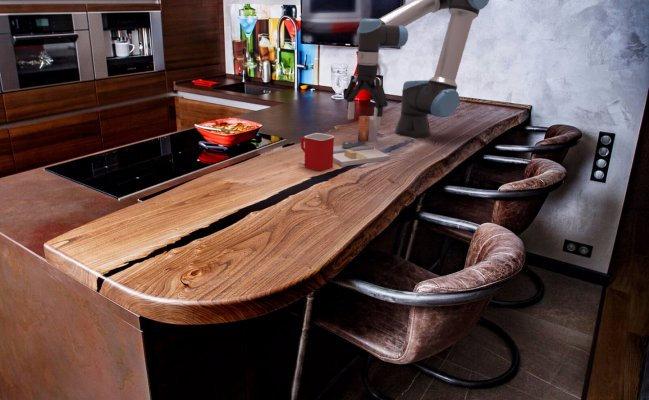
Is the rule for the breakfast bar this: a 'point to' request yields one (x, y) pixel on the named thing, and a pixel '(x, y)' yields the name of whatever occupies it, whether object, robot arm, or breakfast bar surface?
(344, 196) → the breakfast bar surface
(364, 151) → the door panel
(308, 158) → the mug
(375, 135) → the smoothie
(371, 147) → the jamb strip
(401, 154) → the breakfast bar surface
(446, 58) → the robot arm
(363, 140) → the latch bar
